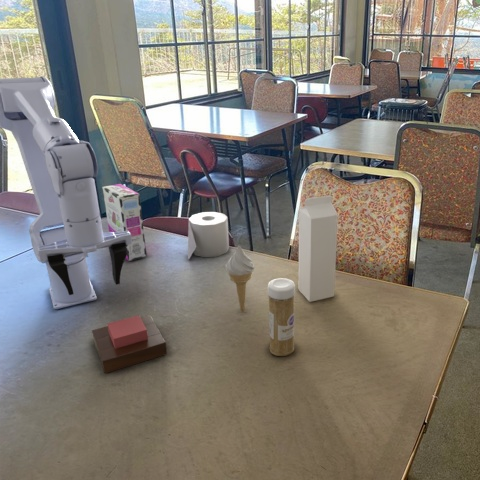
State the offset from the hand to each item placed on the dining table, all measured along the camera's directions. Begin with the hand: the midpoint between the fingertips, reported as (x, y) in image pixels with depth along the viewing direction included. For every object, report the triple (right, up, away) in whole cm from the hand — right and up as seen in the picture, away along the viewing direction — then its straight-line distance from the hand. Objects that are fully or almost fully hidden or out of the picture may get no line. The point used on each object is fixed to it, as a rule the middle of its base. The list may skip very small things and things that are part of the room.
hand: (94, 287), depth 86 cm
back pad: (+7, -11, -1) cm, 13 cm away
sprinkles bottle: (+34, -11, 0) cm, 36 cm away
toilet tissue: (+11, +5, +37) cm, 39 cm away
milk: (+40, -3, +19) cm, 44 cm away
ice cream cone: (+25, -6, +11) cm, 28 cm away
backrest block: (+7, -11, -1) cm, 13 cm away
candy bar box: (-8, +5, +35) cm, 36 cm away
